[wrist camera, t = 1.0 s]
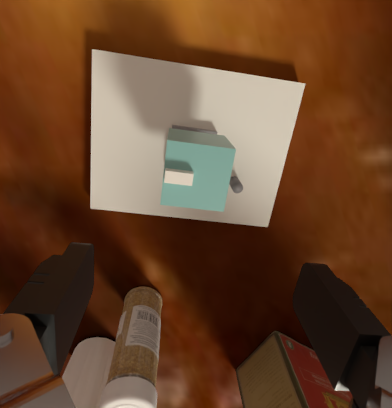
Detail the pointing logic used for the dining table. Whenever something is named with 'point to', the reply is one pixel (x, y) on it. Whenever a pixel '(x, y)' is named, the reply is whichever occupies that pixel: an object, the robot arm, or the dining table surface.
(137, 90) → the stud board
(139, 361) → the sprinkles bottle
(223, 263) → the dining table surface
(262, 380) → the food packaging
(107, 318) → the dining table surface
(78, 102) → the dining table surface
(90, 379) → the cup
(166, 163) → the mint cube with tab
